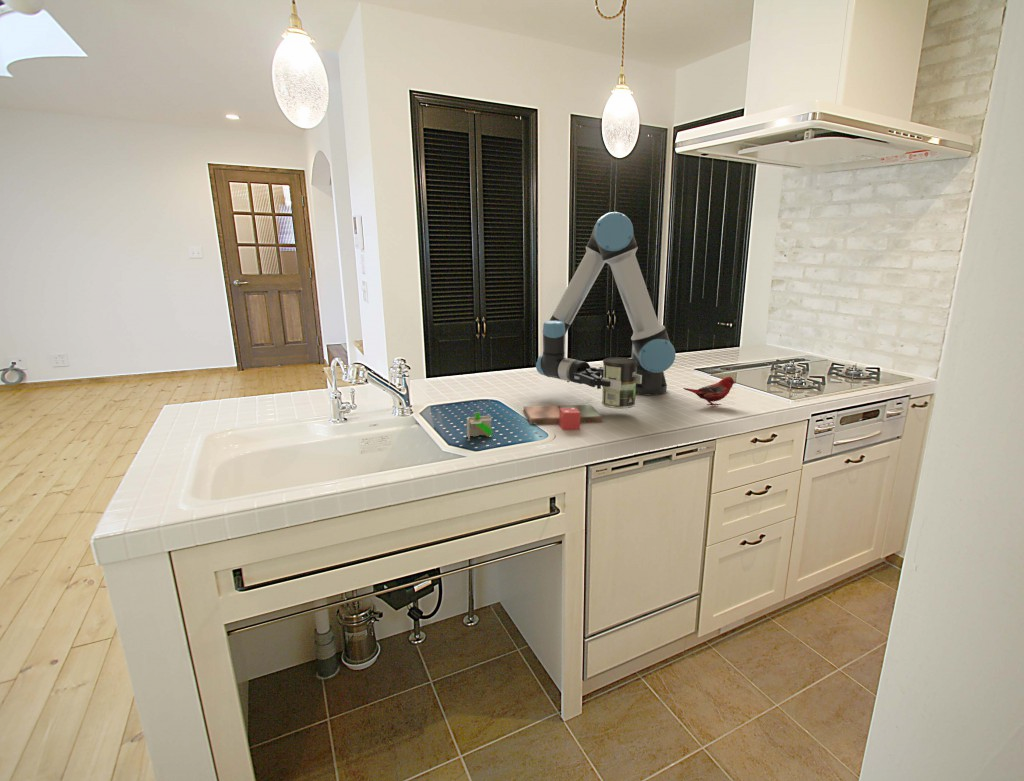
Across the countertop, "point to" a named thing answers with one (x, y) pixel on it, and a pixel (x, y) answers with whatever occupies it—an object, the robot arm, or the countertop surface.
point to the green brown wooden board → (552, 414)
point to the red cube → (569, 418)
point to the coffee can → (626, 374)
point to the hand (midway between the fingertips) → (630, 382)
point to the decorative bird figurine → (714, 390)
